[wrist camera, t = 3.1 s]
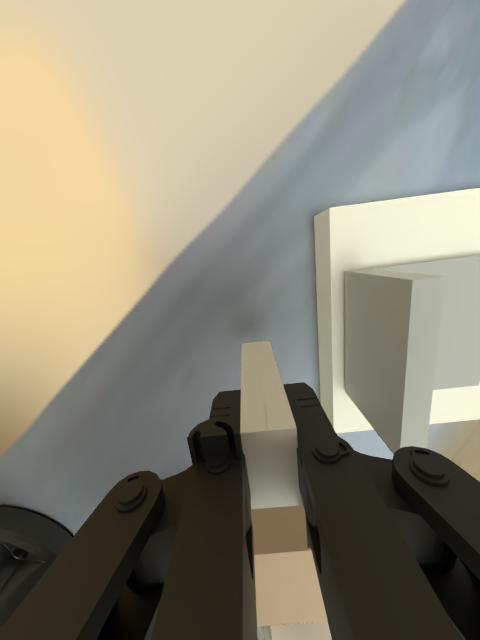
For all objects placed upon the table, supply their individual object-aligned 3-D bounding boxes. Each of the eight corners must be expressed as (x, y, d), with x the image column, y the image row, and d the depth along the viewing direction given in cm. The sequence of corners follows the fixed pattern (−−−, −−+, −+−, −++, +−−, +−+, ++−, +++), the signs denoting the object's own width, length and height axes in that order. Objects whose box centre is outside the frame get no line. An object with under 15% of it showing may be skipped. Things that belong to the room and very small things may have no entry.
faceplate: (320, 408, 21) (333, 433, 18) (313, 216, 16) (329, 207, 14) (505, 389, 20) (550, 412, 17) (546, 185, 16) (615, 169, 13)
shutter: (345, 392, 16) (399, 461, 11) (344, 271, 14) (412, 280, 9) (467, 379, 16) (588, 443, 11) (486, 253, 14) (652, 251, 8)
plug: (251, 477, 23) (258, 626, 14) (244, 426, 21) (246, 555, 12) (312, 471, 22) (362, 618, 13) (309, 419, 21) (363, 546, 12)
